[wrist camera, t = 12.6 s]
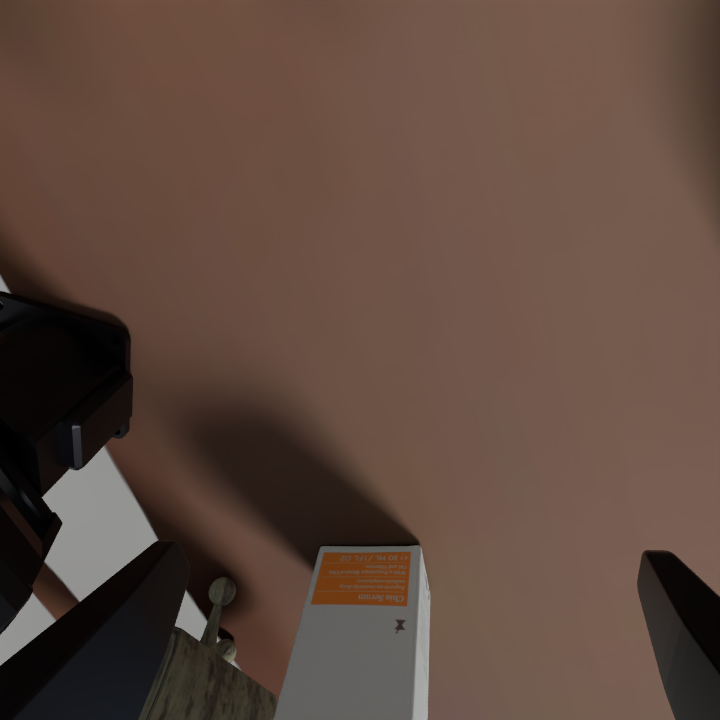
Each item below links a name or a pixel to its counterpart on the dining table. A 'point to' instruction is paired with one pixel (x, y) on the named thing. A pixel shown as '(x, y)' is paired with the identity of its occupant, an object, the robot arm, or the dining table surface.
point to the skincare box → (361, 638)
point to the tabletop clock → (206, 675)
